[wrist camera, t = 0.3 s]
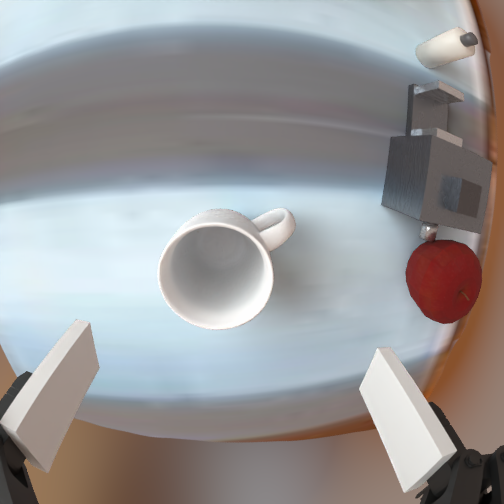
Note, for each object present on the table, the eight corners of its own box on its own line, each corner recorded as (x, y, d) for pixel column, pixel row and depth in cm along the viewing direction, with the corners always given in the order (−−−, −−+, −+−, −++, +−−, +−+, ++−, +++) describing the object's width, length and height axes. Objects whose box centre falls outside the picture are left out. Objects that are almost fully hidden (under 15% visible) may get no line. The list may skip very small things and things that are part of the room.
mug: (263, 169, 36) (275, 174, 23) (302, 240, 39) (331, 278, 26) (166, 227, 37) (134, 261, 25) (210, 291, 41) (199, 346, 28)
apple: (446, 279, 42) (492, 315, 30) (395, 305, 43) (436, 351, 31) (442, 217, 38) (498, 242, 26) (385, 241, 39) (437, 276, 27)
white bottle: (415, 40, 29) (459, 18, 18) (435, 50, 29) (482, 33, 18) (415, 62, 30) (463, 43, 19) (436, 72, 31) (485, 58, 19)
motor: (395, 80, 32) (443, 61, 20) (453, 105, 33) (504, 100, 21) (377, 224, 39) (422, 250, 27) (436, 234, 39) (483, 259, 28)
